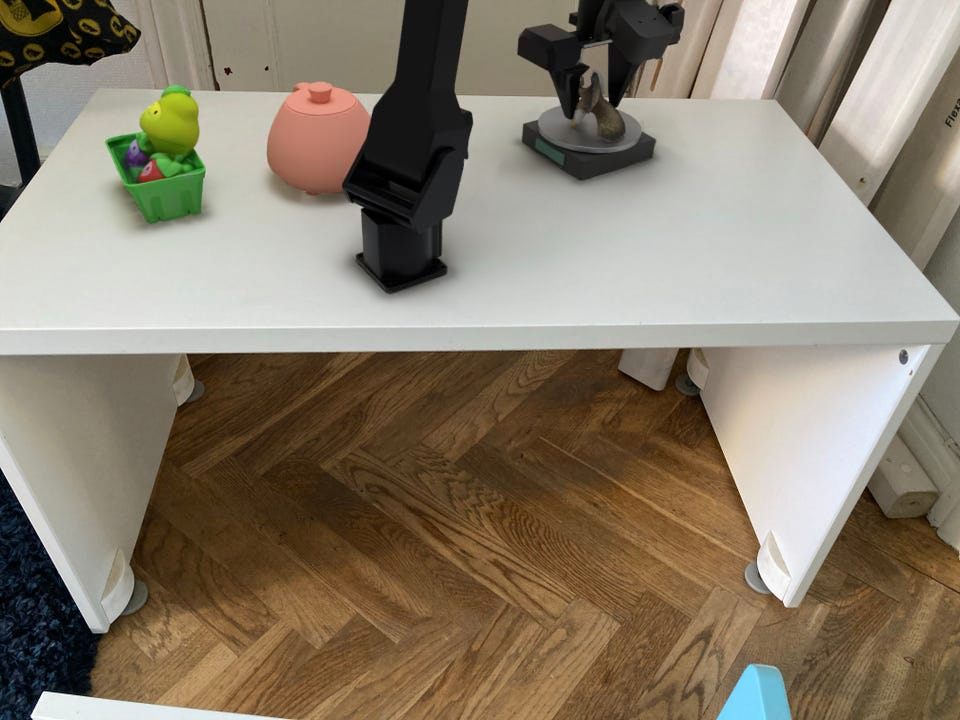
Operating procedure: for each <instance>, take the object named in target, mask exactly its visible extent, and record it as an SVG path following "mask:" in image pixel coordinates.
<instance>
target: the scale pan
mask: <svg viewBox="0 0 960 720" xmlns="http://www.w3.org/2000/svg"><path fill="white" fill-rule="evenodd" d="M617 111H618V112H619V113H620V115H621V116H622V118H623V121H624V123H625V127H626V128H625V130H626V131H625V134H624V136H623V137H622V136H621V139H620V140H617V142H608V141H603V140H602V139H601V138H598V135H597V126H598V124H597V121H596V117H595V115H594V114H593V113H591V112H590V113H589V114H588V113H587V114H585V116H584V117H583V119H582V121H581V122H580V123H579V124H576V125H575V126H574V127H572V126H571V125H572V124H573V121H574V117H575V114H576V110H575V114H574V117H573V119H572V120H569V119H567V118H566V117H565V116H564V113H563V110H562V107H561V105H557V106H554V107H551V108H548V109H547V110H545V111H543V112H542V113H541V114H540V116H539V117H538V118H537V120H538V130H539V132H540V134H541V135H542V136H543V137H544V138H545V139H547V140H548V141H550V142H551V143H553V144H555V145H558V146H560V147H563V148H566V149H570V150H574V151H579V152H587V153H611V152H617V151H622V150H625V149H628V148H630V147H632V146H634V145H635V144H637V143H638V141H639V140H640V138H641V134H642V132H643V128H642V125H641V123H640V122H639V121H638V120H637V119H636V118H635V117H633V116H632V115H630V114H628V113H626V112H624V111H622V110H620V109H617Z"/></svg>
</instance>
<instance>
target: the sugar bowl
mask: <svg viewBox="0 0 960 720" xmlns="http://www.w3.org/2000/svg"><path fill="white" fill-rule="evenodd" d="M370 119H371V114H370V113H369V112H368V111H367V109H366V107H365V106H364V105H363V104H362V102H361V101H360V100H359V98H358V97H357V96H355V94H353V93H352V92H351V91H349V90H346V89H343V88H341V87H340V88H339V87H334V86H333V85H332V84H331V83H329V82H325V81H314V82H311V83H309V82H307V81H306V82H299V83H297V84H295V85H294V86H293V89H292V93H290V94H289V95H288V96H287V97H286V98H285V99H284V101H283V103H282V104H281V105H280V107H279V108H278V111H277V113H276V114H275V117H274V119H273V121H272V124H271V126H270V129H269V132H268V136H267V143H266V160H267V164H268V166H269V168H270V171H272V173H273V174H274V175H275V176H277V178H279V179H280V180H281V181H282V182H283V183H285V184H286V185H288V186H289V187H291V188H293V189H295V190H298V191H301V192H304V193H305V195H307V196H311V197H316V196H320V195H322V194H335V193H337V194H338V193H344V191H343V189H342V183H343V181H344V179H345V177H346V175H347V173H348V172H349V170H350V168H351V166H352V164H353V162H354V160H355V158H356V156H357V154H358V152H359V151H360V149H361V147H362V145H363V143H364V141H365V139H366V136H367V132H368V128H369V124H370Z"/></svg>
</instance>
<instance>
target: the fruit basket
mask: <svg viewBox="0 0 960 720" xmlns="http://www.w3.org/2000/svg"><path fill="white" fill-rule="evenodd" d="M191 94H192V91H191V90H189V89H187V88H186V87H184V86H182V85H180V84H173V85H169V86H167V87H166V88H164V90H163V91H162V93H161V96H160V98H159V99H157V100H156V101H155V102H152V103H151V105H149V106H148V107H147V108H145V109H144V111H143V112H142V113H141V115H140V117H139V127H140V129H141V130H142V131H140V132H133V133H128V134H119V135H117V136H113V137H109V138H106V139H105V141H104V145H105V147H106V149H107V151H108V152H109V155H110V156H111V159H112V161H113V163H114V165H115V169H116V170H117V173H118V175H119V176H120V177H119V178H120V179H121V181H122V184H123V186H124V188H125V189H126V190H127V192H128V193H129V194H131V196H132V198H133V200H134V202H135V204H136V205H137V207H138V209H139V211H140V212H141V214H142V215H143V217H144V219H145V221H146V222H147V224H148V225H155V224H157V223H159V222H168V221H173V220H177V219H181V218H186V217H188V216H189V215H190V216H194V215H195V216H196V215H199V214H201V211H202V201H203V192H204V191H203V188H204V179H205V178H206V171H207V167H206V165H205V163H204V162H203V161H202V159H201V158H200V156H199V154H198V153H197V151H196V149H195V147H196V146H197V144H198V142H199V138H200V133H201V132H200V124H199V113H200V111H199V110H200V109H199V104H198V102H197V101H196V99H195V98H194V97H193V96H192V95H191Z"/></svg>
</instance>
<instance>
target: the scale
mask: <svg viewBox="0 0 960 720" xmlns="http://www.w3.org/2000/svg"><path fill="white" fill-rule="evenodd" d="M656 142H657V139H656V138H655V137H653V136H651V135H649V134H647V133H646V132H644V131H642V134H641V138H640V140H639V141H638V143H637V144H635V145H634V146H632V147H630V148H628V149H625V150H622V151H617V152H611V153H587V152H579V151H574V150H570V149H566V148H563V147H560V146H558V145H555V144H553V143H551V142H550V141H548V140H547V139H545V138H544V137H543V136H542V135H541V134H540V132H539V130H538V119H536V120H531V121H528V122H523V123H522V133H521V143H522V144H523V145H525V146H526V147H528V148H529V149H531V150H532V151H534V152H536V153H537V154H539V155H540V156H542V157H543V158H545V159H546V160H548V161H549V162H551V163H552V164H554V165H556V166H557V167H559V168H560V169H561V170H563V171H565V172H566V173H568V174H569V175H571V176H573V177H574V178H576V179H577V180H578V181H584V180H587V179H590V178H593V177H597V176H600V175H603V174H607V173H609V172H612V171H616V170H619V169H622V168H626V167H629V166H632V165H635V164H637V163H642V162H644V161H648V160H651V159H653V157H654V152H655V148H656Z"/></svg>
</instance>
